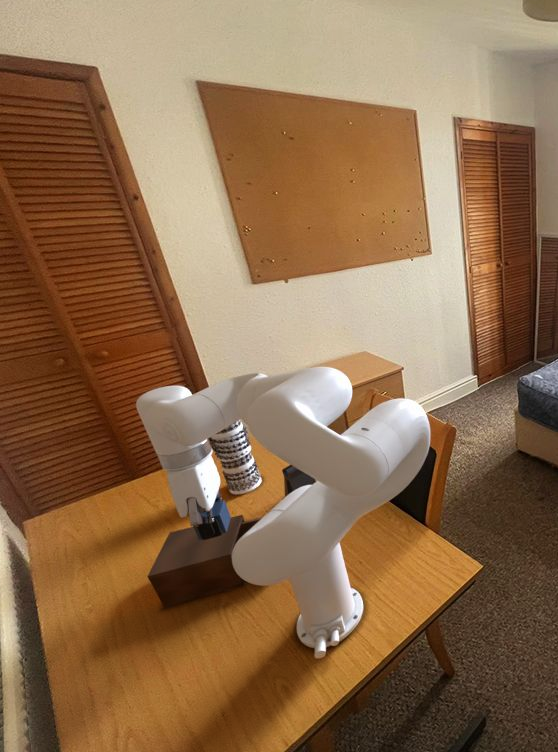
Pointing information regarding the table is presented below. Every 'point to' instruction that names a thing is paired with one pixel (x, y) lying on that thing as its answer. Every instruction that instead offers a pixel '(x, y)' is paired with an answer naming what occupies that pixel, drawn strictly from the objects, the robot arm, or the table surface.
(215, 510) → the block
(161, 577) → the cabinet
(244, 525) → the drawer
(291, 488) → the phone stand
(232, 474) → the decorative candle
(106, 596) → the table surface
